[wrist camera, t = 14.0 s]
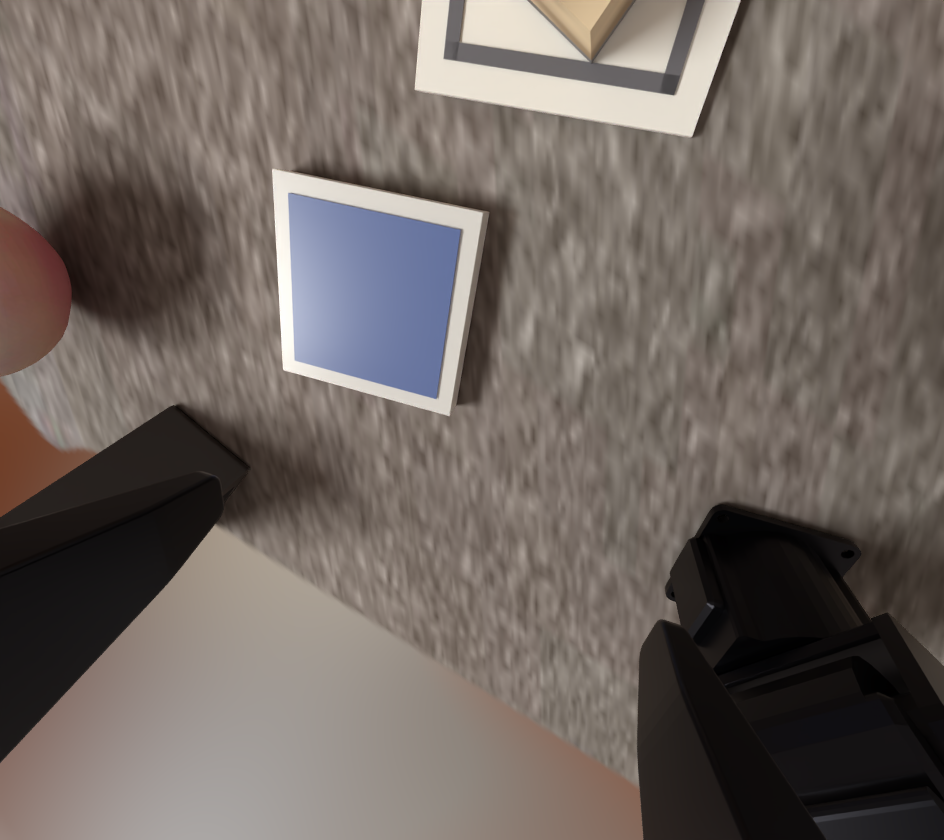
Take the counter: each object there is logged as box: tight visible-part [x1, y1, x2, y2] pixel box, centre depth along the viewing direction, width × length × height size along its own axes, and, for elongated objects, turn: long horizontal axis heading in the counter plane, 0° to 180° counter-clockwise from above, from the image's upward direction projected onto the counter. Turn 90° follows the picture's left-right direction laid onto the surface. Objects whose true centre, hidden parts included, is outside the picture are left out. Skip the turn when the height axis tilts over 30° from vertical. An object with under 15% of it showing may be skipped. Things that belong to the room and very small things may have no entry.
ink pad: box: [272, 169, 489, 416], centre depth 19 cm, size 9×9×1 cm
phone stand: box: [0, 405, 250, 528], centre depth 24 cm, size 9×6×12 cm, turn 137°
